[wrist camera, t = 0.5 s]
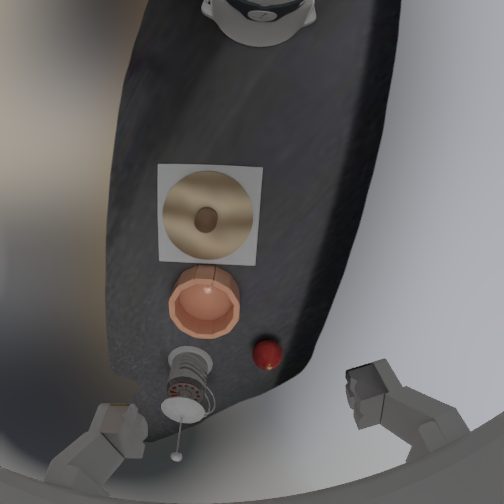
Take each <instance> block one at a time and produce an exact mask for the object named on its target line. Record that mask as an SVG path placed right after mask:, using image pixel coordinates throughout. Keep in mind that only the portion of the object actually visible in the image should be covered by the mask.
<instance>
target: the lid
mask: <svg viewBox="0 0 504 504" xmlns="http://www.w3.org/2000/svg"><path fill="white" fill-rule="evenodd" d="M162 217H163V224H164V228H165V231H166V233H167V235H168V237H169V239H170V240H171V242H172V243H173V244H174V245H175V246H176V247H177V248H178V249H179V250H180V251H182V252H183V253H185V254H187V255H189V256H191V257H194V258H198V259H203V260H214V259H219V258H223V257H226V256H228V255H230V254H232V253H233V252H235V251H236V250H238V249H239V248H240V247H241V246H242V245H243V243H244V242H245V241H246V239H247V238H248V236H249V234H250V231H251V228H252V224H253V209H252V204H251V201H250V198H249V196H248V194H247V193H246V191H245V190H244V188H243V187H242V186H241V185H240V184H239V183H238V182H237V181H236V180H234V179H233V178H231V177H229V176H228V175H225V174H223V173H219V172H214V171H201V172H196V173H193V174H190V175H188V176H186V177H184V178H183V179H181V180H180V181H179V182H177V183H176V184H175V185H174V186H173V188H172V189H171V190H170V192H169V193H168V195H167V197H166V199H165V202H164V206H163V214H162Z"/></svg>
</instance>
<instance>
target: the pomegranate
mask: <svg viewBox="0 0 504 504" xmlns="http://www.w3.org/2000/svg"><path fill="white" fill-rule="evenodd" d="M252 355H253V361H254V362H255V364H256V365H257V366H258V367H259V368H261V369H263V370H271V369H274V368H276V367H277V366H278V365H279V364H280V362H281V359H282V349H281V347H280V346H279V345H278V344H277V343H276V342H274V341H270V340H265V341H262V342H259V343H258V344H257V345H256V346H255V347H254V349H253V354H252Z"/></svg>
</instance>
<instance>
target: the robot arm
mask: <svg viewBox="0 0 504 504" xmlns="http://www.w3.org/2000/svg"><path fill="white" fill-rule="evenodd" d="M209 2H210V4H208V3H209ZM314 3H315V0H204V1H203V4H202V7H201V11H202V13H203V14H204V15H206V16H207V17H209V18H211V19H213V20H214V21H215V22H216V23H217V24H218V26H219V27H220V29H221V30H222V31H223V32H224V33H225V34H226V35H227V36H228V37H230V38H231V39H233V40H234V41H236V42H239V43H241V44H244V45H248V46H254V47H267V46H273V45H277V44H280V43H282V42H284V41H286V40H288V39H289V38H291V37H292V36H293V35H294V34H295V33H296V32H297V31H298V30H299V29H300V28H302V27H304V26H307V25H310V24H312V23H313V22H315V20H316V12H315V7H314ZM346 379H347V382H348V383H347V384H346V394H347V399H348V403H349V406H350V408H352V409H353V410H354V419H355V422H356V424H357V427H358V429H359V430H360V429H363V428H367V427H370V426H373V425H377V424H381V425H382V426H383V427H385V428H386V429H388V430H389V431H391V432H392V433H394V434H395V435H397V436H398V437H400V438H401V439H402V440H404V441H405V442H407V443H409V444H410V445H411V446H412V447H411V450H410V452H409V455H408V457H407V459H406V463H405V464H403V465H400V466H397V467H395V468H392V469H389V470H386V471H384V472H381V473H378V474H375V475H372V476H369V477H366V478H363V479H359V480H356V481H353V482H349V483H346V484H342V485H338V486H334V487H330V488H326V489H322V490H317V491H313V492H308V493H303V494H297V495H292V496H286V497H279V498H272V499H265V500H257V501H246V502H234V503H214V504H504V412H502V413H501V414H499V415H497V416H496V417H494V418H493V419H491V420H490V421H488V422H486V423H485V424H483V425H482V426H480V427H478V428H476V429H475V430H473V431H471V432H470V430H469V429H468V427H467V425H466V424H465V422H464V421H463V419H462V417H461V416H460V414H459V413H458V411H457V410H456V408H454V407H451V406H449V405H447V404H445V403H442V402H440V401H438V400H435V399H433V398H431V397H429V396H427V395H425V394H422V393H420V392H418V391H416V390H414V389H411V388H409V387H407V386H405V387H402V385H401V384H400V382H399V380H398V379H397V377H396V375H395V373H394V372H393V370H392V369H391V367H390V365H389V363H388V362H387V360H386V359H381V360H378V361H375V362H372V363H368V364H365V365H362V366H359V367H356V368H352V369H349V370H346ZM137 411H138V409H137V407H136V406H135V405H134V404H100V405H99V406H98V409H97V411H96V414H95V417H94V419H93V421H92V424H91V427H90V429H89V432H85V433H84V434H83V435H81V436H80V437H79V438H78V439H77V440H76V441H74V442H73V443H72V444H71V445H70V446H69V447H67V448H66V449H65V450H63V451H62V452H61V453H60V454H59V455H57V456H56V457H55V458H54V459H53V460H52V461H51V463H50V466H49V468H48V471H47V474H46V476H45V479H44V481H43V482H42V481H39V480H36V479H33V478H30V477H27V476H24V475H21V474H19V473H16V472H13V471H11V470H8V469H5V468H3V467H1V466H0V504H176V503H155V502H144V501H135V500H126V499H119V498H112V497H110V495H109V493H108V492H107V491H105V490H104V489H103V488H101V487H102V485H103V484H104V483H105V481H106V480H108V478H109V477H110V476H111V475H112V474H113V472H114V471H115V470H116V469H117V468H118V466H119V465H120V464H121V463H122V462H123V460H124V458H142V456H143V452H144V448H145V445H144V443H143V440H144V439H145V438H146V437H147V434H148V427H147V423H146V420H145V419H144V417H143V416H142V415H140V414H138V413H137Z"/></svg>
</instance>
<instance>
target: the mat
mask: <svg viewBox="0 0 504 504" xmlns="http://www.w3.org/2000/svg"><path fill="white" fill-rule="evenodd" d="M201 171H214V172H219V173H223V174H225V175H228V176H229V177H231V178H233V179H234V180H236V181H237V182H238V183H239V184H240V185H241V186H242V187H243V188H244V190H245V191H246V193H247V194H248V196H249V198H250V201H251V204H252V209H253V224H252V228H251V231H250V234H249V236H248V238H247V239H246V241H245V242H244V243H243V245H242V246H241V247H240V248H239V249H238V250H236V251H235V252H233V253H232V254H230V255H228V256H226V257H223V258H219V259H214V260H203V259H198V258H194V257H191V256H189V255H187V254H185V253H183V252H182V251H180V250H179V249H178V248H177V247H176V246H175V245H174V244H173V243H172V242H171V240H170V239H169V237H168V235H167V233H166V231H165V228H164V224H163V217H162V214H163V206H164V202H165V199H166V197H167V195H168V193H169V192H170V190H171V189H172V188H173V186H174V185H175V184H176V183H177V182H179V181H180V180H181V179H183V178H184V177H186V176H188V175H190V174H193V173H196V172H201ZM262 173H263V167H249V166H231V165H206V164H158V242H159V261H169V262H188V263H209V264H230V265H252V266H255V261H256V249H257V236H258V224H259V211H260V198H261V186H262Z"/></svg>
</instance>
